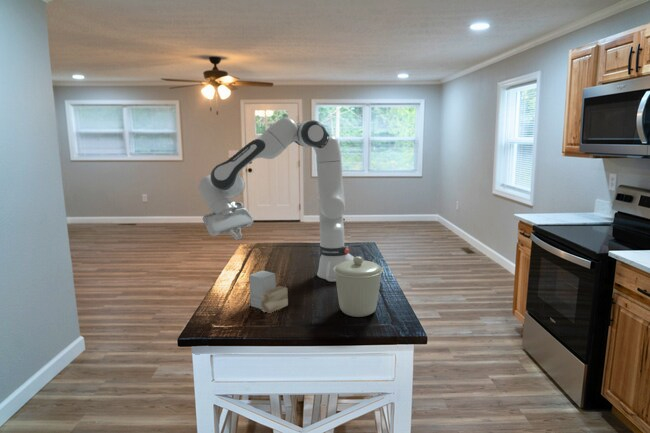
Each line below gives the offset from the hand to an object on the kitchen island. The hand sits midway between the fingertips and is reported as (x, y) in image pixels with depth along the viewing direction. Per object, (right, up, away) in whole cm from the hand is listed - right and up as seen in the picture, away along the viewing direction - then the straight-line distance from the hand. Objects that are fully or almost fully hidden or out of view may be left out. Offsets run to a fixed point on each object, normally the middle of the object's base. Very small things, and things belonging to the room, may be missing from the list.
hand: (239, 238), depth 171 cm
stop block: (+15, -26, -9) cm, 31 cm away
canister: (+47, -27, -12) cm, 55 cm away
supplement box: (+11, -26, -5) cm, 28 cm away
